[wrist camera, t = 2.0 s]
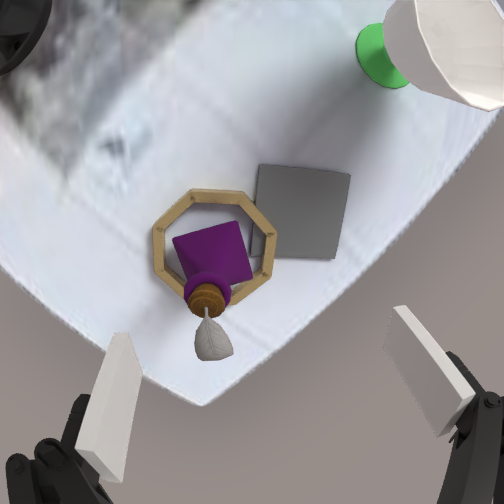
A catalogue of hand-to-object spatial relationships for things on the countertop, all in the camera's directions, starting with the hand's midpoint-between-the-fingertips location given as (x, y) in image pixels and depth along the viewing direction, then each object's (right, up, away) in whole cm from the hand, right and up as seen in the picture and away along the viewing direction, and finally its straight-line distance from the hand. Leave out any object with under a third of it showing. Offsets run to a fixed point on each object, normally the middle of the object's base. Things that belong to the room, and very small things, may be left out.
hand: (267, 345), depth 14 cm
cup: (+16, +29, +15) cm, 36 cm away
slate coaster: (+5, +9, +22) cm, 25 cm away
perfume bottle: (-5, +5, +23) cm, 24 cm away
